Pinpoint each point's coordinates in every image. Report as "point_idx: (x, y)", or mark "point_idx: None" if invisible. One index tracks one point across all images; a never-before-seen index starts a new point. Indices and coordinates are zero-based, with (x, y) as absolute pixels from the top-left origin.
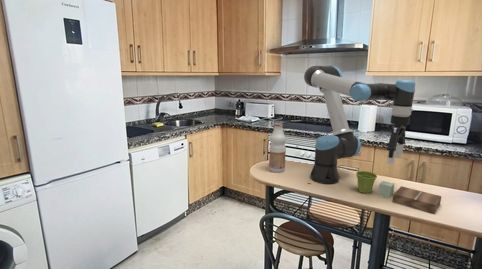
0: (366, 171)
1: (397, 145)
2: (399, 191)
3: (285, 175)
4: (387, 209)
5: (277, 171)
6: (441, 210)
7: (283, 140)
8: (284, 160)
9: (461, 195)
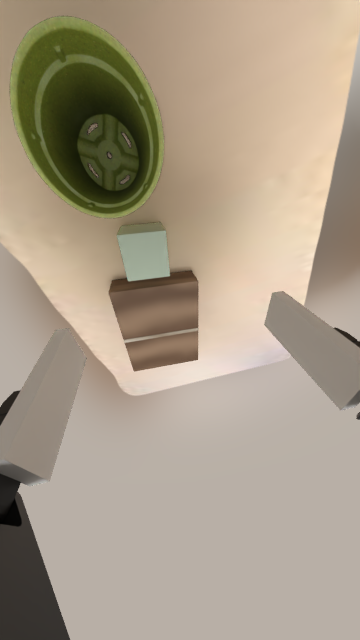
0: (155, 102)
1: (353, 367)
2: (145, 296)
3: None
4: (48, 293)
5: None
6: None
7: None
8: None
9: (271, 348)
